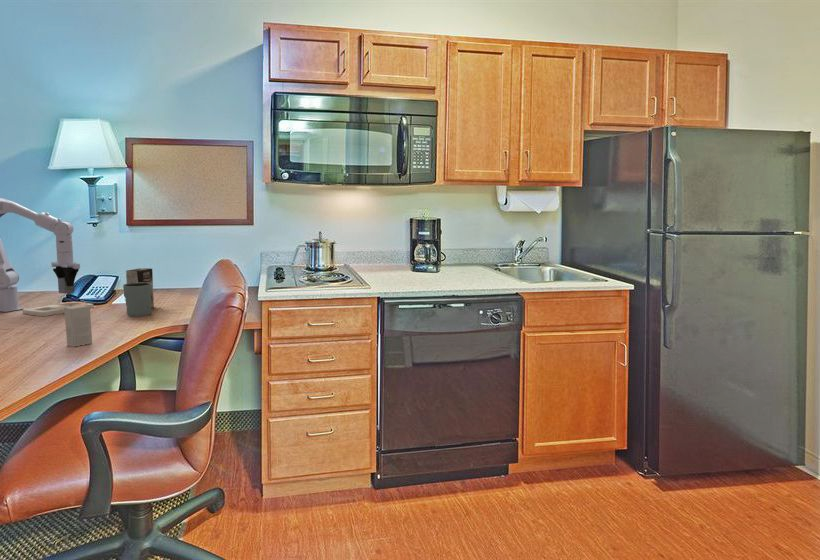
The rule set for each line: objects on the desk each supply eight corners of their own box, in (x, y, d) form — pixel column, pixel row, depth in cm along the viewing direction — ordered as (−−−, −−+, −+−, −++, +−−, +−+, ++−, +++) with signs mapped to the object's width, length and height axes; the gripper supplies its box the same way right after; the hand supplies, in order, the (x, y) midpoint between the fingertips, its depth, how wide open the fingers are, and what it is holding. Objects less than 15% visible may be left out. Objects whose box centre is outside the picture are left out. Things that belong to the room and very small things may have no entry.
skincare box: (85, 342, 206) (83, 304, 205) (92, 343, 204) (90, 306, 202) (66, 345, 201) (63, 307, 200) (73, 347, 199) (71, 308, 197)
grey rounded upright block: (158, 313, 255) (157, 283, 254) (140, 318, 246) (138, 286, 244) (137, 311, 259) (136, 281, 257) (118, 316, 249) (117, 285, 248)
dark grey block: (58, 292, 260) (57, 277, 260) (67, 291, 264) (66, 276, 263) (65, 293, 259) (64, 278, 258) (74, 292, 262) (73, 277, 261)
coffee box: (141, 310, 260) (139, 270, 258) (127, 310, 262) (125, 270, 260) (154, 306, 269) (153, 268, 267) (140, 306, 271) (138, 267, 268)
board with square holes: (22, 313, 252) (22, 309, 252) (73, 305, 271) (73, 301, 271) (43, 316, 247) (43, 312, 246) (94, 307, 266) (93, 303, 266)
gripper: (85, 252, 260) (87, 285, 262) (61, 250, 266) (64, 283, 268) (69, 253, 254) (72, 287, 255) (45, 251, 260) (47, 285, 262)
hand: (66, 285), depth 261 cm, fingers closed on dark grey block, 4 cm apart
